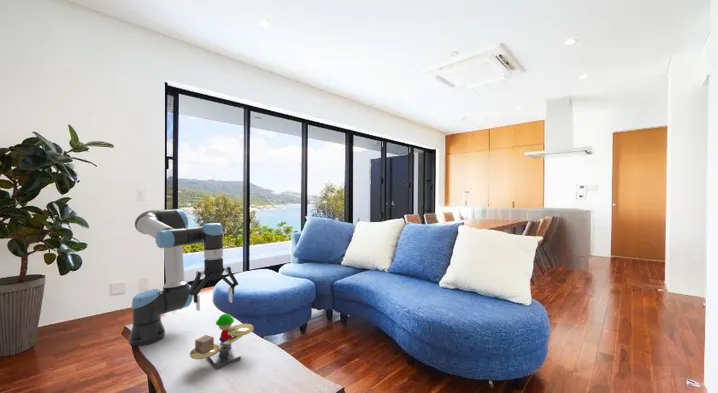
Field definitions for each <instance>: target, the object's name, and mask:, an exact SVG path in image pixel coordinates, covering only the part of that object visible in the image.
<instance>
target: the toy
mask: <svg viewBox="0 0 718 393" xmlns="http://www.w3.org/2000/svg"><path fill="white" fill-rule="evenodd" d="M234 322H235V319H234V317H233V316H232V315H231V314H229V313H223V314H222V315H220V316H219V317H218V319H217V320H216V321H215V324H216V326H218V328H219V330H221V333H220V337H219V342H220V343H221V342H226V341H227V340H229V339H231V338H232V337H233V336H230V335H228V329H229V328H231V327H232V325H233V323H234ZM231 345H232V343H231V344H230V345H228V347H231Z"/></svg>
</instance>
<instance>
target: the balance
mask: <svg viewBox="0 0 718 393" xmlns="http://www.w3.org/2000/svg"><path fill="white" fill-rule="evenodd" d="M254 328H255V327H254V325H253V324H251V323H240V324H236V325H233V326H231V327H230V328H229V329H228V335H230V336H232V338H231V339H229V340H227V341H226V342H221V341H220V344H219V345H218V344H216V343H214V349H213V350H211V351H209V352H207V353H205V354H201V353H198V352H195V348H193V349H192V350H191V351H190V352H189V357H190V358H191V359H192V360H193V359H194V360H205V359H206V360H208V361H209V362H210V363H211V364H212V365H213V366H214V368H215V369H216V370H219V369H220V368H223V367H225V366H228V365H231V364H233V363H237V362H239V361H241V355H240V354H239V353H238V352H237V351H235V349H234V348H232V347H231V345H232V344H233V343H234V342H236V341H237V340H240V339H241V338H242V337H243V336H247V335H248V334H251V333H252V332H253V331H254ZM230 344H231V345H230ZM228 345H230V346H228Z"/></svg>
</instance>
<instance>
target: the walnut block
mask: <svg viewBox="0 0 718 393" xmlns="http://www.w3.org/2000/svg"><path fill="white" fill-rule="evenodd" d="M214 337H215V336H211V335H207V334H205V335H203V336H201V337H198V338H196V339H195V340H194V347H195V352H198V353H201V354H205V353H207V352H209V351H211V350H213V349H214V344H215V342H214V341H215V340H214V339H215V338H214Z"/></svg>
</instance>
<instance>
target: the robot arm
mask: <svg viewBox="0 0 718 393" xmlns="http://www.w3.org/2000/svg"><path fill="white" fill-rule="evenodd" d="M134 227H135V229H136V231H137V232H139V233H140V234H142V235H148V236H150V237H152V238H154V240H155V244H156V246H157V247H158V249H163V256H164V257H163V258H164V270H165V272H164V273H165V283H164V285H163V286H162V290H160V289H158V288H154V289H148V290H144V291H142V292H139V293H137V294H136V295H135V296H134V297H133V298H132V301H131V311H132V312H131V313H132V314H131V315H132V328H131V331H130V334H129V337H128V344H129V345H130V346H133V347H135V346H136V347H138V346H139V345H141V346H145V345H144V344H146V345H150V344H153V343H157V342H158V341H160V340H162V339H163V338H164V337H165V336H166V329H165V327H164V325H163V322H162V320H161V319H162V318H161V316H162V315H164V314H168V313H171V312H175V311H177V310H182V309H184V308H187V307H189V306H190V305H191V303H192V301H193V303H194V304H195V306H196V308H195V309H196V310H197V311H198V312H199V311H200V310H201V304H200V302H201V300H200V299H201V298H200V294H199V293H200V292H201V291H202V289H203V288H204V287H205V285H207V283H208V282H209V281H214V280H218V279H220V278H221V279H222V280H223V281H224V282H225V283H226V284H227V285H229V286H228V289H227V290H228V293H227V294H228V302H229V303H230V304H231V303H233V295H234V294H235V288H236V287H237V286H238V285H239V282H238V280H237V279H236V277H235V275H234V274H233V271H232V268H231V266H228V265H227V266H226V267H224V258H223V256H224V251H223V250H224V249H223V246H224V245H223V240H224V239H223V233H224V231H223V225H222V223H220V222H209V223H208V222H207V223H204V225H195V226H193V227H189V219H188V215H187V213H186V212H185V211H184V210H183V209H181V208H178V209H177V208H172V209H171V208H169V209H157V210H156V209H152V210H147V211H144V212H143V213H140V214H139V215H138V216H137V217H136V219H135V220H134ZM196 244H203V259H204V266H203V267H204V269H203V270H201V271H199V270H197V271H196V273H195V278H194V279H193V282H192V284H189V282H188V281H187V280H185V269H184V268H185V267H184V254H183V246H188V245H196ZM224 272H225V273H226V272H227V275H228V276H229V278H230V279H231V281H232V282H231V281H230V280H229V279H228V278H227V277H226V276H225V275H224ZM203 275H204V277H203V279H202V280H201V277H202V276H203ZM200 280H201V282H200V283H199V281H200ZM198 284H199V285H198ZM149 343H150V344H149ZM139 347H140V346H139Z"/></svg>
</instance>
